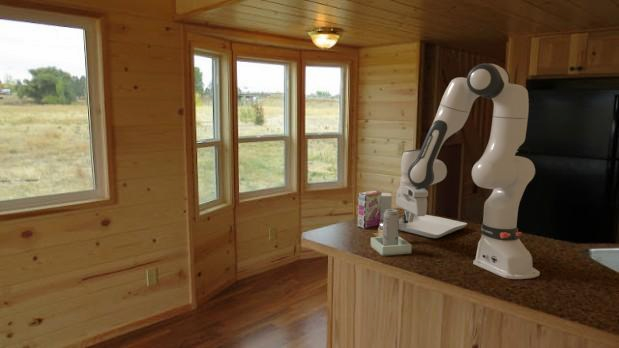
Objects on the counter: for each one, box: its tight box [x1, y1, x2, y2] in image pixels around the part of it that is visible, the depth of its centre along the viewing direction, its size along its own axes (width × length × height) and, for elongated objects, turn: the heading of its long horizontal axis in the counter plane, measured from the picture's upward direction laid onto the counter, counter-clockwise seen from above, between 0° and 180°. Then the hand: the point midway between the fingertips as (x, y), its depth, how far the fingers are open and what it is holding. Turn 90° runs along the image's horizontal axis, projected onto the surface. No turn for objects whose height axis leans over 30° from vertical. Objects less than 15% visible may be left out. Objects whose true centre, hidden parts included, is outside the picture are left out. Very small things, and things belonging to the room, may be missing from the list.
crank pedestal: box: [372, 227, 383, 237], centre depth 183 cm, size 14×6×6 cm, turn 14°
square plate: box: [399, 214, 468, 239], centre depth 197 cm, size 27×27×4 cm
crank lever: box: [378, 212, 408, 229], centre depth 179 cm, size 13×5×6 cm, turn 102°
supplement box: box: [380, 192, 393, 221], centre depth 214 cm, size 7×7×13 cm
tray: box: [370, 235, 412, 257], centre depth 169 cm, size 12×12×4 cm
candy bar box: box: [356, 190, 382, 230], centre depth 201 cm, size 11×5×16 cm, turn 130°
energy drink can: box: [382, 208, 400, 246], centre depth 169 cm, size 6×6×15 cm
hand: (409, 221), depth 176 cm, fingers closed
